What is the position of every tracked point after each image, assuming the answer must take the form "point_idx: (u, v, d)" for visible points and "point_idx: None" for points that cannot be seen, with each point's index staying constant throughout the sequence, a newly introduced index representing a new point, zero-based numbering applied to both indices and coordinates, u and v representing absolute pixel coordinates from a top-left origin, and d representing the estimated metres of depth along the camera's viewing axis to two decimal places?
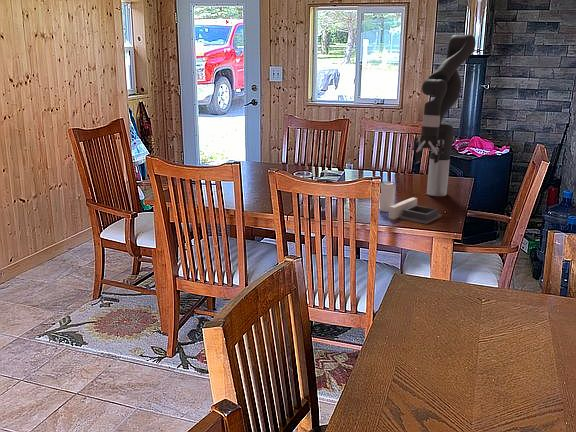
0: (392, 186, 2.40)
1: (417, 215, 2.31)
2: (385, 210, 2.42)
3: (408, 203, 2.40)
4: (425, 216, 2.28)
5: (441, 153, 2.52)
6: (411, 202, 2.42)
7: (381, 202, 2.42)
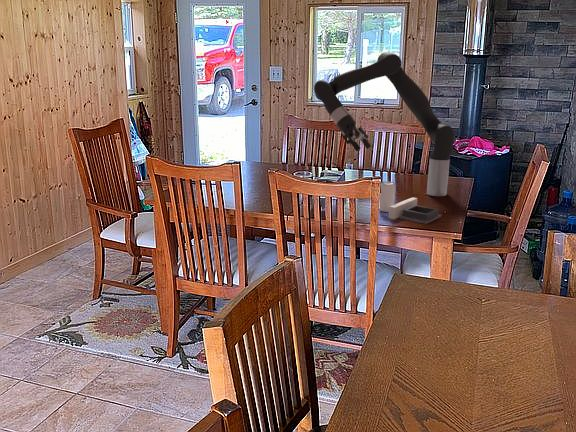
0: (392, 186, 2.40)
1: (417, 215, 2.31)
2: (385, 210, 2.42)
3: (408, 203, 2.40)
4: (425, 216, 2.28)
5: (348, 143, 2.42)
6: (411, 202, 2.42)
7: (381, 202, 2.42)
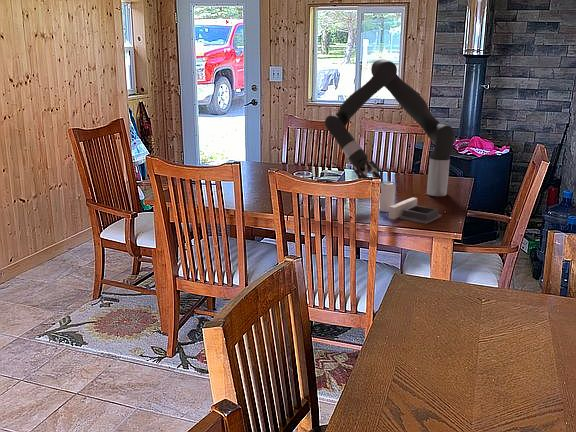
0: (392, 186, 2.40)
1: (417, 215, 2.31)
2: (385, 210, 2.42)
3: (408, 203, 2.40)
4: (425, 216, 2.28)
5: (360, 178, 2.42)
6: (411, 202, 2.42)
7: (381, 202, 2.42)
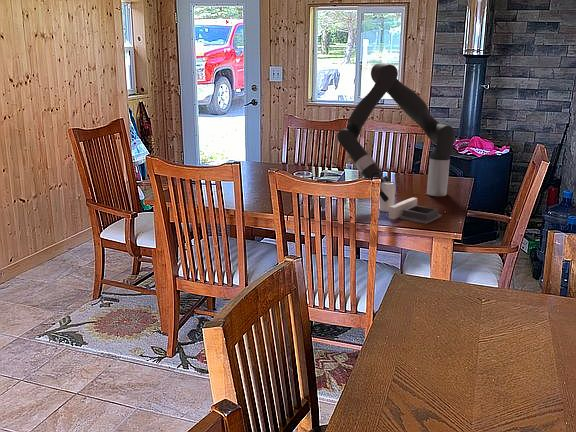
0: (392, 186, 2.40)
1: (417, 215, 2.31)
2: (385, 210, 2.42)
3: (408, 203, 2.40)
4: (425, 216, 2.28)
5: None
6: (411, 202, 2.42)
7: (381, 202, 2.42)
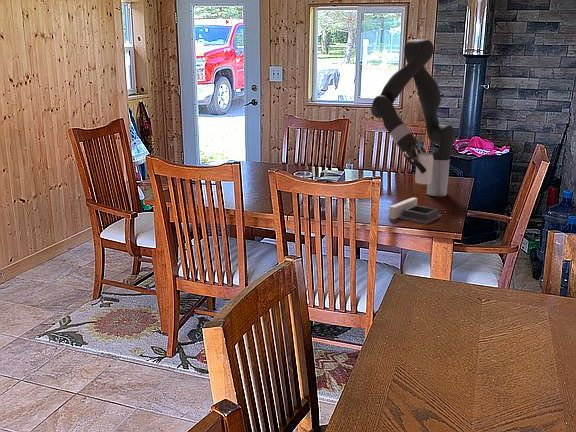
0: (430, 157, 2.26)
1: (417, 215, 2.31)
2: (422, 182, 2.29)
3: (408, 203, 2.40)
4: (425, 216, 2.28)
5: (413, 165, 2.26)
6: (411, 202, 2.42)
7: (418, 174, 2.29)
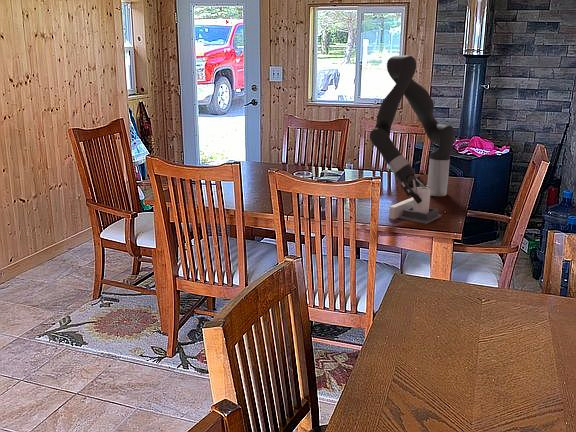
0: (427, 190, 2.31)
1: (417, 215, 2.31)
2: None
3: (408, 203, 2.40)
4: (425, 216, 2.28)
5: (409, 195, 2.29)
6: (411, 202, 2.42)
7: (415, 206, 2.33)
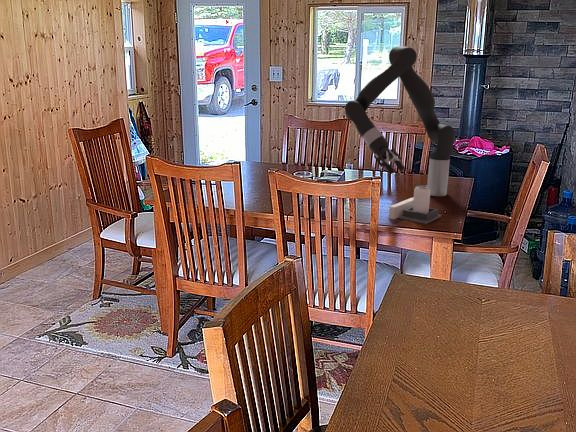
0: (427, 190, 2.31)
1: (417, 215, 2.31)
2: None
3: (408, 203, 2.40)
4: (425, 216, 2.28)
5: (382, 166, 2.34)
6: (411, 202, 2.42)
7: (415, 207, 2.33)
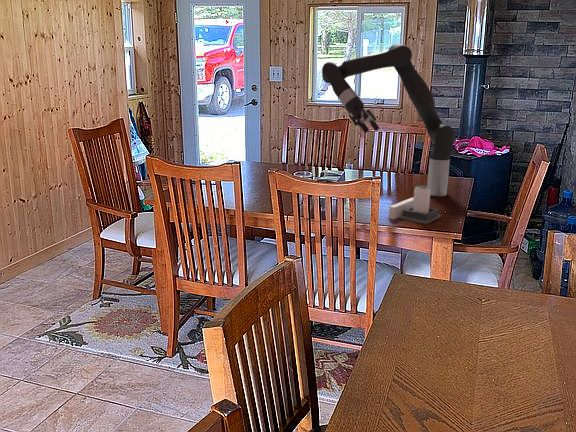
0: (427, 190, 2.31)
1: (417, 215, 2.31)
2: None
3: (408, 203, 2.40)
4: (425, 216, 2.28)
5: (356, 124, 2.41)
6: (411, 202, 2.42)
7: (415, 207, 2.33)
